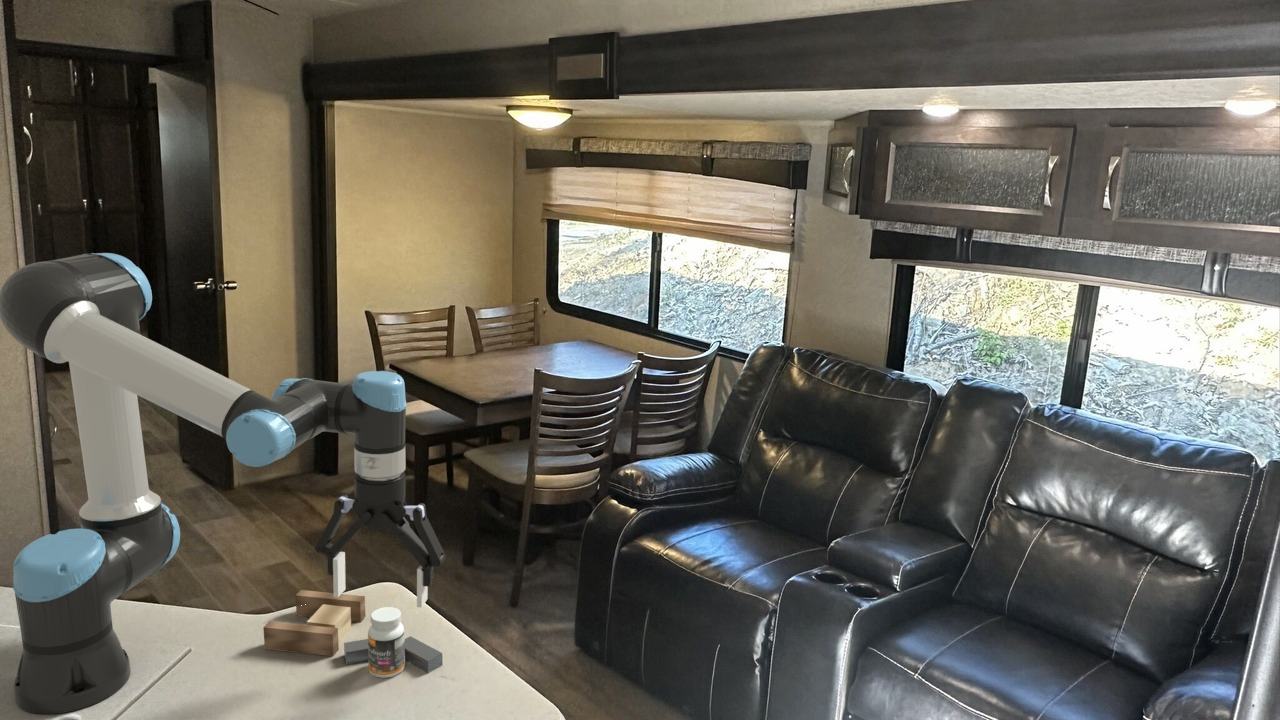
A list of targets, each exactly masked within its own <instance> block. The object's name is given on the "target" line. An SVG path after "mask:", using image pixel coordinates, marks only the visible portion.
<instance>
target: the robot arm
mask: <svg viewBox="0 0 1280 720" xmlns="http://www.w3.org/2000/svg"><path fill="white" fill-rule="evenodd" d="M151 288H152V287H151V285H150V282H149V280H148V278H147V276H146V275H145V273H144V272H143V271H142V269H141V268H140V267H139V266H136V264H134V263H133V261H131V260H130V259H128V258H127V257H125V256H123V255H121V254H120V255H119V254H117V253H111V252H101V253H99V252H97V253H94V252H91V253H83V254H77V255H73V256H68V257H63V258H58V259H52V260H48V261H47V260H46V261H37V262H33V263H30V264H26V265H23V266H22V267H21V268H19V269H16V270H15V271H14V272H13V273H12V274H10V275H9V276H8V278H6V279H5V281H4V282H3V284H2V286H1V287H0V321H1V323H2V325H3V326H4V328H5V329H6V331H7V333H8V334H9V335H10V336H11V337H12V338H13V339H15V341H16V342H18V344H20V345H22V346H23V347H25V348H26V349H27V350H29V351H31V352H32V353H34V354H36V355H38V356H40V357H42V358H44V359H46V360H48V361H51V362H52V363H56V364H64V363H66V362H68V365H69V372H70V378H71V379H70V380H71V386H72V392H73V400H74V406H75V414H76V420H77V427H78V433H79V434H78V435H79V436H78V437H79V440H80V441H79V442H80V449H81V456H82V463H83V469H84V477H85V482H86V483H85V484H86V489H87V491H86V492H87V497H88V500H87V501H86V502H85V503H84V504H83V505H82V506H81V507H80V508H79V511H78V512H79V513H78V514H79V520H80V528H68V529H64V530H60V531H59V530H58V532H56V533H55V534H52V533H49V534H47V535H44V536H41V537H40V538H37V539H35V540H33V541H32V542H30V543H29V544H27V546H25V547H23V548H22V550H21V551H19V552H18V554H17V556H16V557H15V559H14V562H13V565H12V566H13V567H12V569H13V570H12V571H13V580H12V589H13V591H14V596H15V602H16V608H17V615H18V616H17V617H18V622H19V623H18V624H19V629H20V635H21V636H20V637H21V641H22V642H21V643H22V652H21V653H22V654H21V657H20V660H19V664H18V665H19V666H18V668H17V672H16V677H15V680H14V684H13V690H14V698H15V703H16V704H17V706H18V707H19V708H21V709H22V710H24V711H27V712H29V713H31V714H32V713H33V714H38V715H39V714H43V715H51V714H61V713H68V712H72V711H77V710H80V709H84V708H87V707H90V706H92V705H95V704H97V703H100V702H101V701H104V700H106V699H108V698H109V697H111V696H113V695H114V694H115V693H117V692H118V691H119V690H121V689H122V688H123V687H124V686H125V684H127V682H128V680H129V679H130V676H131V673H132V672H131V662H130V657H129V654H128V652H126V650H125V649H124V648H123V647H122V644H121V641H120V639H119V638H118V636H117V634H116V632H115V629H114V626H113V617H112V607H111V604H112V602H113V601H115V600H116V599H117V598H119V597H120V596H122V595H123V594H125V593H126V592H127V591H129V590H130V589H132V588H133V587H135V586H137V585H138V584H139V583H140V582H142V581H143V580H145V579H147V578H149V577H151V576H153V575H154V574H156V573H157V572H159V571H160V570H161V569H163V567H164V566H165V565H166V564H167V563H168V562H170V560H171V559H172V558H173V557H174V556H175V554H176V552H177V551H178V548H179V546H180V542H181V541H180V540H181V529H180V525H179V522H178V521H179V520H178V518H177V517H176V514H174V513H171V512H170V511H171V509H170V508H169V507H168V506H167V505H166V504H163V502H162V499H161V497H160V495H158V494H157V493H155V492H154V491H152V490H151V489H150V487H149V479H148V473H147V465H146V464H147V463H146V457H145V448H144V440H143V439H144V438H143V432H142V424H141V415H140V408H139V401H138V400H139V399H138V397H141V398H143V399H145V400H146V401H149V402H151V403H153V404H155V405H157V406H159V407H161V408H163V409H165V410H167V411H170V412H171V413H173V414H175V415H176V416H179V417H182V418H183V419H185V420H188V421H189V422H192V423H193V424H195V425H198V426H200V427H201V428H203V429H205V430H207V431H210V432H211V433H214V434H216V435H217V436H220V437H221V438H223V439H225V441H226V442H225V443H226V446H227V449H228V450H229V452H230V453H232V455H233V457H235V460H236V461H238V462H239V463H240V464H242V465H245V466H248V467H253V468H259V467H264V466H267V465H270V464H272V463H274V462H275V461H278V460H281V459H283V458H285V457H286V456H287V455H289V454H290V453H291V452H292V451H293V450H295V449H296V448H298V447H299V446H301V445H302V444H304V443H306V442H308V441H309V440H311V439H313V438H314V437H316V436H317V435H319V434H321V433H322V432H327V433H328V432H329V433H338V434H351V435H353V446H354V447H353V449H354V460H353V461H354V472H355V475H354V497H355V498H354V499H352V498H349V496H348V495H347V494H342V495H341V496H339V498H337V499H336V500H335V502H334V506H333V514H332V515H331V517H330V519H329V521H328V523H327V525H326V526H325V528H324V531H323V533H322V535H321V536H320V539H319V540H318V542H317V543H316V545H315V547H314V551H315V552H316V553H318V554H321V553H323V554H324V555H326V558H327V573H328V575H329V576H333V578H332V579H333V580H332V584H333V590H332V591H333V593H334V597H339V596H340V595H341V594H344V592H345V591H346V552H345V551H341V550H342V549H343V548H344V546H345V545H346V544H347V543H348V542H349V541H350V540H351V539H352V538H353V537H354V536H355V535H356V534H357V533H358V532H359V531H360V530H361V529H362V528H363V527H364V528H366V529H367V530H368V531H379V532H383V533H388V532H391V533H392V534H393V536H395V537H396V538H399V541H401V543H402V544H403V545H404V546H405V547H406V549H407V550H408V552H410V553H411V555H412V556H413V557H414V559H415V560H416V562H418V563H419V566H418V567H417V569H416V608H422V607H423V606H424V605H425V604H426V602H427V600H428V593H429V592H428V590H429V589H428V588H429V587H430V586H431V585H432V583H433V581H434V567H440V566H441V565H442V563H443V562H444V561H445V559H446V557H447V556H446V554H445V551H444V549H443V547H442V545H441V542H440V541H439V539H438V536H437V534H436V532H435V530H434V529H433V527H432V524H431V523H430V521H429V518H428V515H427V506H426V504H425V503H423V502H420V503H419V504H417V505H408V504H407V502H406V473H405V471H406V465H407V464H406V463H407V462H406V422H407V421H406V413H407V401H406V400H407V399H406V386H405V381H404V378H403V377H402V375H400V374H398V373H396V372H393V371H387V370H379V371H378V370H377V371H375V370H371V371H370V370H369V371H364V372H360V373H359V374H356V376H354V377H353V383H344V382H333V381H327V380H326V381H325V380H318V379H313V378H308V377H306V378H305V377H302V378H285V379H284V380H282V381H281V382H280V383H279V384H278V386H277V388H276V389H274V391H273V394H272V398H270V397H268V396H265V395H263V394H261V393H259V392H256V391H255V390H252V389H251V388H249V387H246V386H244V385H243V384H240V383H238V382H236V381H235V380H233V379H231V378H228V377H226V376H224V375H223V374H220V373H218V372H216V371H214V370H212V369H210V368H208V367H206V366H204V365H202V364H200V363H198V362H196V361H194V360H192V359H190V358H188V357H186V356H184V355H182V354H180V353H178V352H176V351H174V350H173V349H170V348H168V347H166V346H164V345H162V344H160V343H158V342H157V341H154V340H152V339H150V338H148V337H146V336H143V335H142V334H141V328H140V321H141V320H142V319H143V318H144V317H145V316H146V314H147V312H148V311H149V310H150V309H151V306H152V304H153V303H152V301H153V295H152V294H153V293H152V289H151ZM351 509H352V510H353V512H354V514H355V515H356V516H357V518H358V519H357V520H356V521H355V522H354V523H353V524H352V526H350V527H349V528H348V529H347V531H346V532H345V533H343V535H342V536H341V537H340V538H339V539H338V540H337V541H336V542H335V543H334V544H333V543H331V542H332V540H333V538H334V536H335V534H336V533H337V531H338V529H339V526H340V525H341V522H342V521H343V519H344V517H345V516H346V514H347V513H348V512H349V511H350V510H351ZM406 515H408V516H409V518H410V520H411V521H413V524H414V526H415V529H416V531H417V533H418V535H419V536H418V535H417V534H416V533H415V531H414V530H413V529H412V528H411V526H410V522H409V521H408V520H407V519H406V517H405V516H406ZM419 537H420V538H419Z"/></svg>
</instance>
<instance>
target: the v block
mask: <svg viewBox="0 0 1280 720" xmlns="http://www.w3.org/2000/svg"><path fill="white" fill-rule="evenodd" d="M404 639H405V662H407V663H409V664H411V665H413V666H414V667H417V668H418V669H420V670H422V671H424V672H426V673H427V674H429V673H431V672H432V671H435V670H436V669H438V668H440V667H442V666H443V662H444V661H443V652H441V651H439V650H437V649H436V648H434V647H431V646H430V645H428V644H427V643H424V642H422V641H420V640H419V639H416V638H415V637H413V636H411V635H410V636H408V637H406V638H404ZM343 650H344V653H343V654H344V659H345V660H344V661H345V664H346V665H350V664H351V665H352V664H357V663H360V662H369V659H368V638H364V639H359V640H353V641H347V642H343Z"/></svg>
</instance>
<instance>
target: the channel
mask: <svg viewBox="0 0 1280 720" xmlns="http://www.w3.org/2000/svg"><path fill="white" fill-rule="evenodd" d="M305 604H306V605H305ZM323 604H325V605H334V606H343V607H350V609H351V622H355V623H357V622H358V623H362V622H363V620H364V619H365V618H366V596H365V595H356V594H346V593H342V594H341V595H340V596H339V597H334V592H327V591H326V592H324V591H315V590H306V589H300V590H299V591H298V592H297V593H296V594H295V608H296V609H295V613H296V616H297V617H307V618H311V617H312V616H313V615H314V614H315V613H316V611H317V610H318V609H319V608H320V607H321V606H322V605H323ZM301 605H302V606H301ZM262 628H263V639H264V640H263V642H264V649H265V650H272V651H273V650H274V651H282V652H292V653H299V654H300V653H301V654H311V655H319V656H328V657H334V656H335V655H336V654H337V653H338V651H339V642H338V628H331V627H322V626H312V625H307V624H302V623H301V624H300V623H291V622H290V623H289V622H279V621H270V620H269V621H267V623H266V624H265V625H264V626H263V627H262Z"/></svg>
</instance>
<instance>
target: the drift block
mask: <svg viewBox="0 0 1280 720" xmlns="http://www.w3.org/2000/svg"><path fill="white" fill-rule="evenodd" d="M306 625H312V626H322V627H331V628H338V643H339V642H340V641H341V639H343V637H344V636H345V635H346V634H347V632H349V630H350V629H351V628H352V621H351V609H350V607H343V606H334V605H325V604H323V605H322V606H321V607H320V608H319V609H318V610H317V611H316V613H315V614H314V615H313V616H312V617H309V619H308V620H306Z"/></svg>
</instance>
